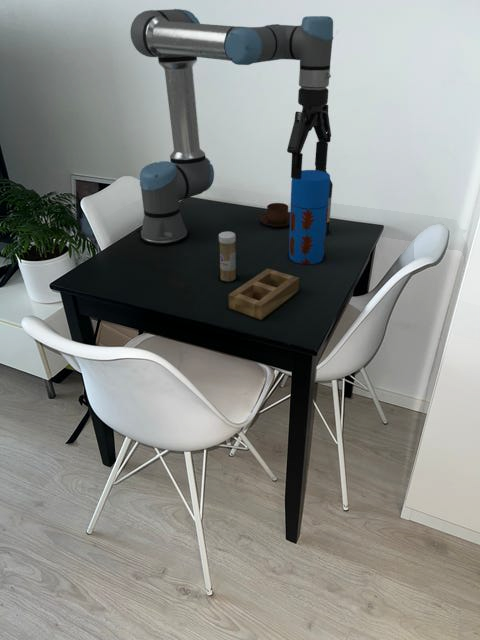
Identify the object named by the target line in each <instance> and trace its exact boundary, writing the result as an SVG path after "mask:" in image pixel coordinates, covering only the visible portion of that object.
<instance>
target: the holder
mask: <svg viewBox="0 0 480 640" xmlns="http://www.w3.org/2000/svg"><path fill="white" fill-rule="evenodd" d="M299 285H300V277H297V276H295V275H292V274H288V273H284V272H281V271H278V270H275V269H271V268H266V269H264V270H262V272H260V273H258V274H257V275H256V276H254V277H253V278H251V279H250V280H248V281H247V282H245V283H243V284H242V285H240V286H239V287H238V288H236V289H235V290H233V291H232V292H230V293H229V294H228V309H230V310H233V311H236V312H238V313H241V314H244V315H247V316H250V317H252V318H255V319H257V320H260V321H262V320H264V318H267V316H268V315H270V314H271V313H272V312H273V311H275V310H276V309H277V308H278V307H280V306H281V305H282V304H284V303H285V302H286V301H288V300H289V299H290V298H291V297H293V296H294V295H295V294H296V293H297V292H299V287H300V286H299Z"/></svg>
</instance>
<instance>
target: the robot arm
mask: <svg viewBox="0 0 480 640" xmlns="http://www.w3.org/2000/svg"><path fill="white" fill-rule="evenodd" d="M130 40H131V43H132V45H133V47H134V48H135V49H136V51H137V52H138V53H139V54H141V55H143V56H145V57H148V58H157V61H158V64H159V65H160V66H161V67H162V68H163V70H164V78H165V85H166V94H167V102H168V111H169V112H168V113H169V120H170V127H171V128H170V129H171V137H172V144H173V145H172V146H173V151H172V153H171V154H170V155H169V159H170V160H168V161H165V160H163V161H162V160H161V161H158V162H157V161H155V162H152V163H149V164H147V165H145V166H144V167H143V168H142V169H141V170H140V172H139V187H140V192H141V199H142V208H143V221H142V226H141V227H138V228H136V231H137V232H139V231H140V237H141V241H143V242H144V243H146V244H149V245H152V246H167V245H173V244H177V243H180V242H182V241H184V240H185V239H187V237H188V229H187V225H185V222H184V219H183V217H182V214H181V210H180V209H181V208H180V207H181V206H180V202H181V201H184V200H186V199H188V198H192V197H194V196H198V195H201V194H202V193H204V192H206V191H208V190H209V189H210V187H212V185H213V183H214V179H215V169H214V166H213V164H212V163H211V160H210V159H209V158H208V157H207V156H206V152H205V151H204V150H203V149H202V148H201V145H200V144H201V142H200V141H201V140H200V133H199V132H200V131H199V122H198V121H199V119H198V109H197V99H196V98H197V97H196V88H195V87H196V86H195V77H194V66H195V65H196V63H197V61H198V58H202V59H210V60H221V61H229V62H232V63H233V64H235V65H238V66H249V65H253V64H258V63H264V62H272V61H278V60H292V61H299V76H298V86H299V87H300V88H299V89H298V91H297V92H298V94H297V95H298V96H297V103H298V105H300V106H302V110H301V111H295V112H294V120H293V121H294V122H293V125H292V129H291V133H290V137H289V140H288V144H287V149H286V151H287V153H289V154H291V167H290V168H291V169H290V179H292V178H295V179H301V174H302V170H303V156H304V155H303V152H302V151H303V148H304V145H305V143H306V140H307V139H308V135H309V133H310V131H312V130H313V129H314V132H315V135H316V138H317V141H316V145H315V158H314V167H316V166H320V167H325V156H326V144H327V143H331V140H332V139H331V138H332V131H331V130H332V129H331V124H330V123H331V122H330V116H329V104H328V101H329V89H328V87H329V86H330V78H332V75H331V60H332V49H333V48H332V47H333V41H334V19H333V17H331V16H327V15H326V16H325V15H308V16H304V17H302V21H301V25H293V24H292V25H291V24H290V25H289V24H278V23H276V24H273V23H272V24H267V25H264V26H236V25H224V24H223V25H221V24H211V23H210V24H208V23H201V22H200V21H199V19H198V17H197V16H195V14H194V13H193V12H191V11H190V10H187V9H181V8H172V9H155V10H154V9H149V10H144V11H142V12H140V13H138V14H137V15H136V16H135V17H134V18H133V21H132V22H131V25H130ZM319 141H320V142H319ZM326 142H327V143H326Z"/></svg>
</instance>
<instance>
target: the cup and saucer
mask: <svg viewBox="0 0 480 640" xmlns="http://www.w3.org/2000/svg"><path fill="white" fill-rule="evenodd" d="M259 217H260V219H259V220H260V222H261V223H262V224H263V225H265V226H268V227H274V228H283V227H287V226H290V213H289V205H288V204H286V203H283V202H273V203H269V204H268V205H267V206H266V213H264V214H262V215H260V216H259Z"/></svg>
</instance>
